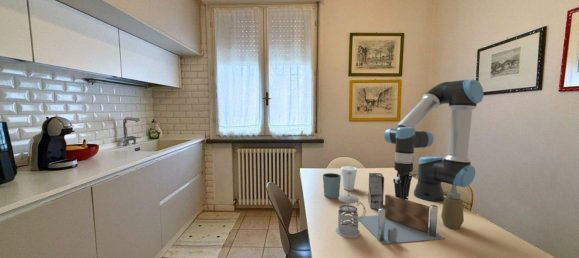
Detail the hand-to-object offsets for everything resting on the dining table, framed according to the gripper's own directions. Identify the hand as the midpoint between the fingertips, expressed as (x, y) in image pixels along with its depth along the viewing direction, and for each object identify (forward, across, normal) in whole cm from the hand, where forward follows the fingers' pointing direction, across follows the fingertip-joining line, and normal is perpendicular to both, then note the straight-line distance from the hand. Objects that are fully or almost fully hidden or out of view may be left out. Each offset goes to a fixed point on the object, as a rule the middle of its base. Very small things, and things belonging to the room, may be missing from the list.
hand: (401, 213), depth 111 cm
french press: (+3, +28, -7) cm, 29 cm away
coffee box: (+3, -5, -16) cm, 17 cm away
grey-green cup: (+3, +2, -40) cm, 40 cm away
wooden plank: (+2, +5, +4) cm, 7 cm away
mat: (+3, +9, +3) cm, 10 cm away
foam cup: (+3, -17, -42) cm, 45 cm away
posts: (+3, +15, +10) cm, 18 cm away
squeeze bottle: (+3, -10, +17) cm, 20 cm away
